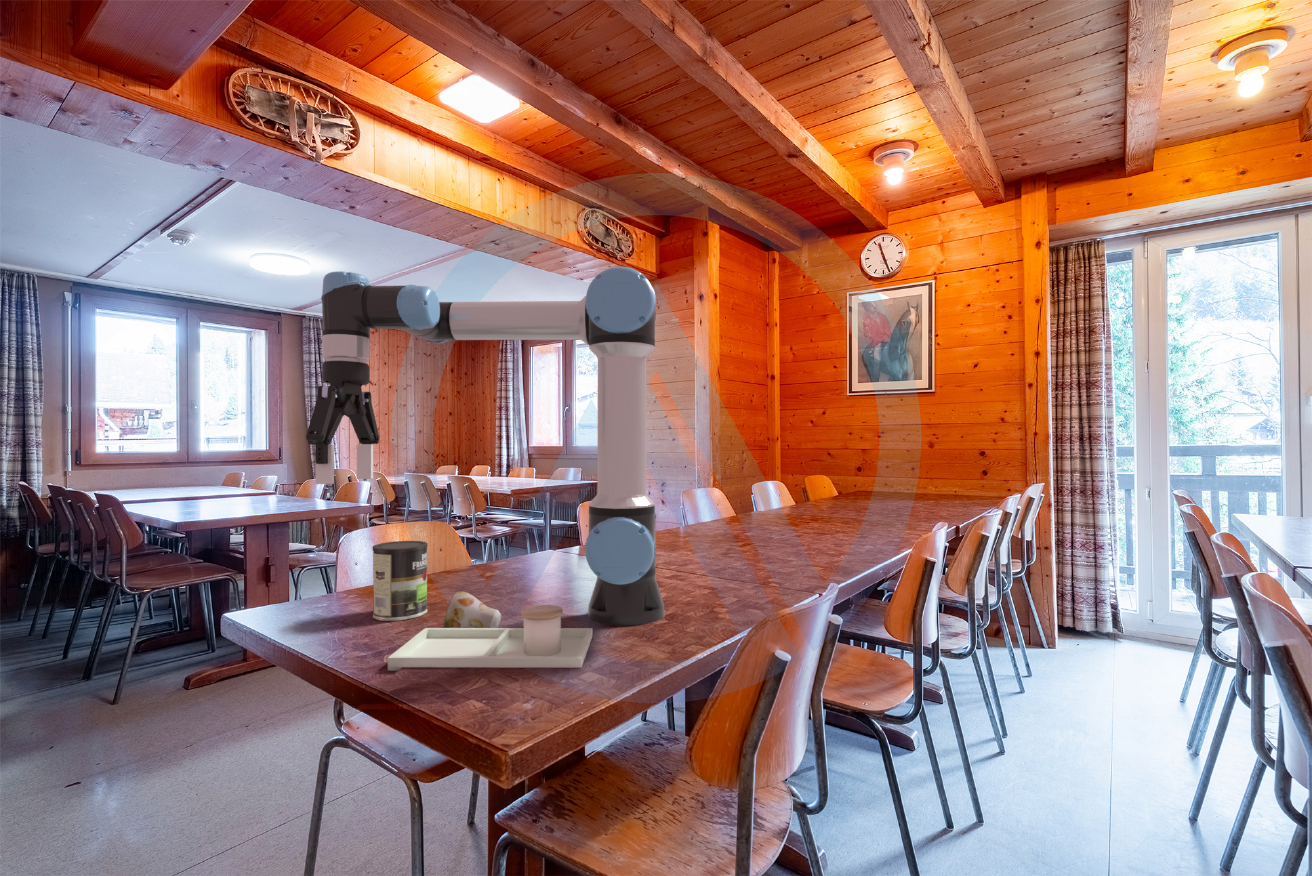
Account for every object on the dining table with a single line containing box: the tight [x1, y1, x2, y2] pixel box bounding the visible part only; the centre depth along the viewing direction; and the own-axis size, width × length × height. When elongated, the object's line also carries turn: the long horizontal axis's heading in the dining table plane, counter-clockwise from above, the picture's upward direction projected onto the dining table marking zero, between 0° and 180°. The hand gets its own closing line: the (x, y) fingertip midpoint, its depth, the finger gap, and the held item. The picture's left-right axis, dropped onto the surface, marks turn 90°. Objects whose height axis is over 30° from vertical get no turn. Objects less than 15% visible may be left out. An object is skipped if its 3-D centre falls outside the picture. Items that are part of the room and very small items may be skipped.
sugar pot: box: [521, 604, 564, 656], centre depth 99 cm, size 7×7×7 cm
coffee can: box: [372, 540, 429, 622], centre depth 122 cm, size 10×10×14 cm
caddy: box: [387, 627, 593, 672], centre depth 99 cm, size 30×15×2 cm, turn 89°
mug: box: [443, 591, 502, 628], centre depth 112 cm, size 8×10×10 cm
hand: (346, 481), depth 107 cm, fingers open, 13 cm apart
